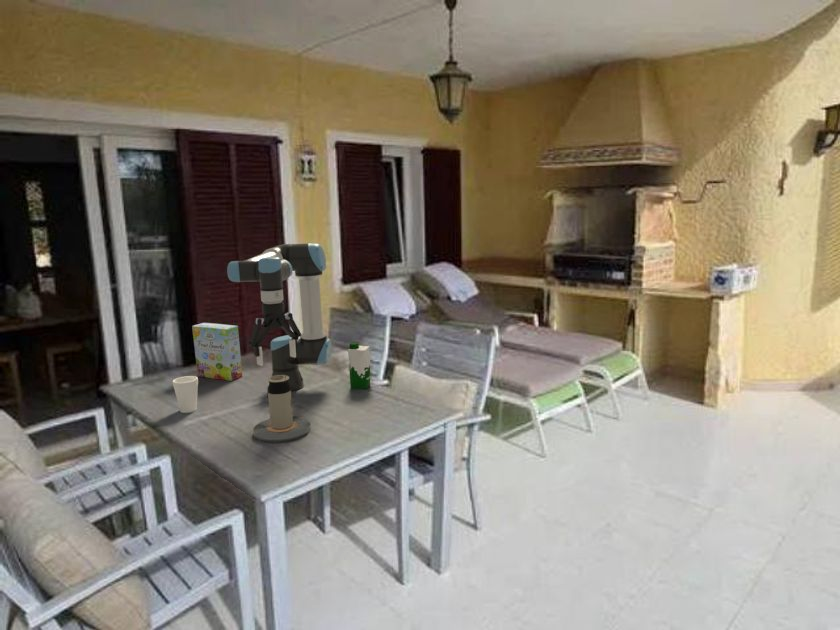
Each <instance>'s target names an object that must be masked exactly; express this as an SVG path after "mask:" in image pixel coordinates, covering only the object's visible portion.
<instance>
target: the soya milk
mask: <svg viewBox="0 0 840 630" xmlns="http://www.w3.org/2000/svg"><path fill="white" fill-rule="evenodd" d="M347 353H348V354H347V355H348V367H349V369H348V371H349V384H350V389H356V390H358V389H359V390H366V389H368V387H369V386H370V385H371V354H370V346H369V345H368V346H367V345H360V344H359V342H349V348H348V349H347Z"/></svg>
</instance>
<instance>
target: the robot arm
mask: <svg viewBox="0 0 840 630" xmlns="http://www.w3.org/2000/svg"><path fill="white" fill-rule="evenodd" d="M326 266H327V260H326V255H325V251H324V249H323V247H322V246H321V245H320V244H319V243H312V242H311V243H284V244H279V245H275V246H273V247H270V248H267V249H265V250H264V251H263V252H262V253H261V254H258V255H255V256H253V257H251V258H248V259H244V260H235V261H234V260H233V261H230V262H229V263H228V265H227V266H226V267H227V270H226V271H227V278H228V279H229V281H231V282H232V283H234V282H235V283H243V282H244V283H245V282H249V283H250V282H252V283H253V282H259V286H260V299H261V300H260V301H261V302H262V303H261V313H262V318H258V317H256V318H254V325H253V328H252V331H251V334H250V337H249V340H248V343H247V346H249V347H251V348H253V354H254V357H256V366H261V367H263V366H264V358H263V348H262V346H261V345H262V343H263V342H264V340H265V338H266V337H267V334H268V333H269V332H271V330H274V329H280V328H281V329H282V330H283V331H284V332H285V333H286V334H287V335H282V336H278V337H275V338H273V339H272V340H271V341H270V350H269V351H270V357H271V367H272V368H271V369H272V370H271V371H272V372H271V376H270V377H272V376H276V375H286V376H289V379H288V382H289V384H290V386H291V392H293V391H297V390H300V389H301V388H303V387H304V386H305V385H304V384H305V383H304V378H303V377H302V374H301V372H300V368H299V365H301V366H302V365H303V366H304V365H305V366H307V365H308V366H310V365H311V366H312V365H314V366H315V365H316V366H319V365H326V364H328V362H329V360H330V357H331V352H332V340H331V338H328V337H327V335H328V334H327V333H326V331H324V329H323V316H322V314H323V313H322V299H321V286H320V278H321V277H322V275H323V272H324V271H325V270H326V269H327V267H326ZM293 272H294V276H295V277H296V278H297V279H298V281H299V283H298V284H299V290H300V291H299V293H300V295H299V296H300V297H299V298H300V307H301V308H300V309H301V321H302V331H303V332H302V333H301V331H300V329H299V327H298V325H297V324H296V322H295V320H294V318H293V317H294V316H293V313H291V312H285V303H284V300H285V299H284V286H283V285H284V284H283V282H284V281H285V280H286V281H287V280H288V279H289V278H290V277H291V276H292V274H293ZM285 320H286V322H287V323H285ZM288 325H289V326H288Z"/></svg>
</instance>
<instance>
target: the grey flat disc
mask: <svg viewBox="0 0 840 630" xmlns="http://www.w3.org/2000/svg"><path fill="white" fill-rule="evenodd" d="M252 431H253V438H255V440H257V441H259V442H262V443H268V444H281V443H287V442H292V441H295V440H299V439H301V438H303V437H305V436H306V435H308V434H309V433H310V431H311V423H310V420H308V419H306V418H305V417H300V416H295V415H293V425H292V426H290V427H288V428H285V429H274V428H272V427H271V424H270V418H268V419H264V420H263V421H260V422H259V423H257V424H256V425H255V426H254V427H253V430H252Z"/></svg>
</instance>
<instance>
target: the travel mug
mask: <svg viewBox="0 0 840 630" xmlns="http://www.w3.org/2000/svg"><path fill="white" fill-rule="evenodd" d="M288 379H289V376H286V375H276V376H272V377H271V376H269V377H268V378H267V381H268V383H269V384H268V386H267V394H268V395H267V396H268V410H269V411H268V413H269V419H270V424H271V427H272V428H274V429H285V428H288V427H290V426H292V425H293V416H294V415H293V403H292V391H291V386H290V384H289V382H288Z"/></svg>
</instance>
